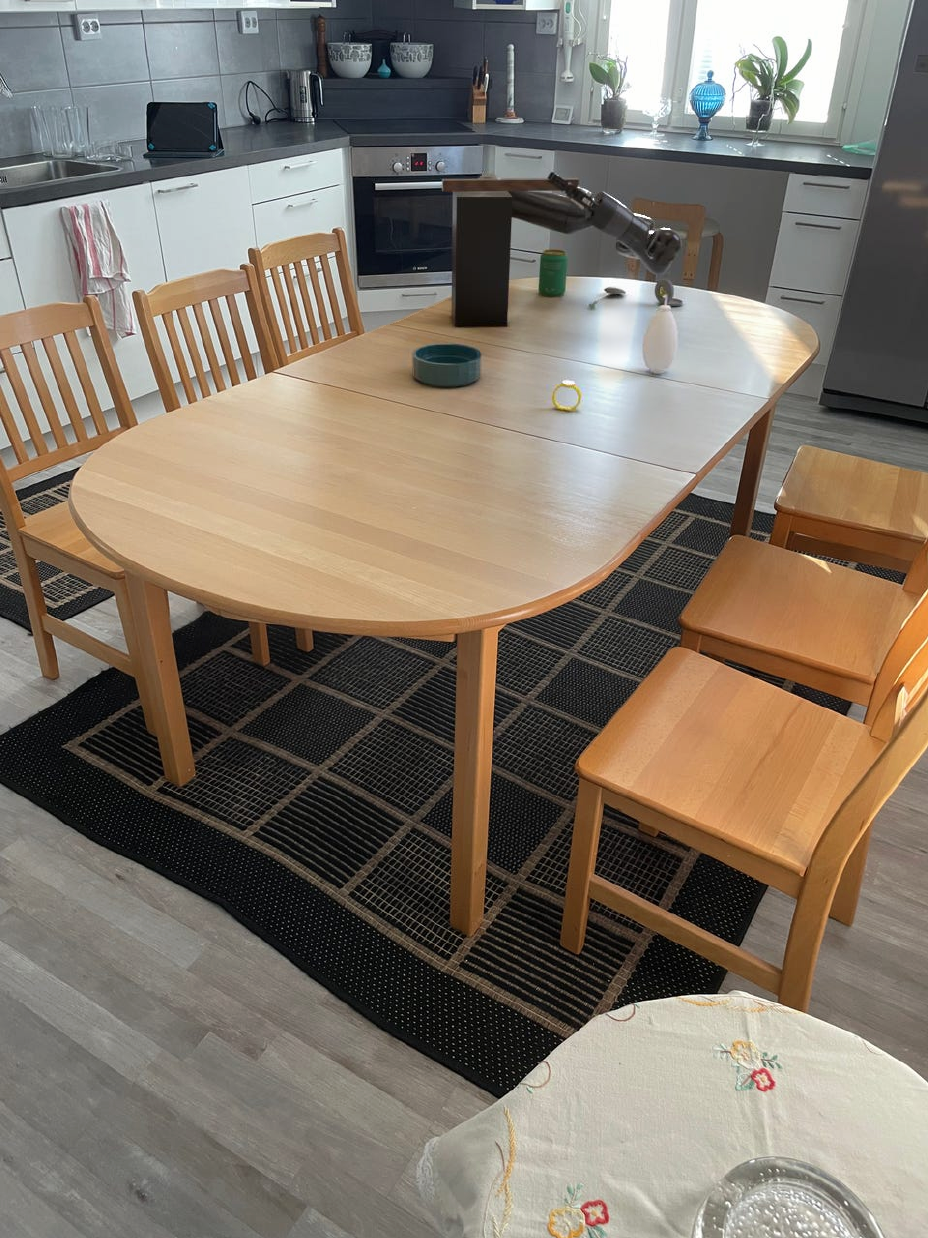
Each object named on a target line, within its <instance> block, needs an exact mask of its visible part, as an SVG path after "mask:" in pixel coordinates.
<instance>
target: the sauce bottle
mask: <svg viewBox="0 0 928 1238" xmlns="http://www.w3.org/2000/svg"><path fill="white" fill-rule="evenodd" d="M665 297H666V298H665ZM665 297H664V298H665V304H664V305H662V304H660V305H659V307H658V310H656V312H655V313H654V315H652V317H651V319H650V321H649V323H648V325H647V328H646V330H645V333H644V336H643V341H642V348H641V349H642V358H643V362H644V365H645V367H646V368H647V369H648V370H649V372H650V373H652V374H655V375H660V374H662V373H665V370H668V369H670V367H671V366H672V364H673V362H674V360H675V358H676V356H677V351H678V346H679V332H678V327H677V322H676V319H675V316H674V314H673V312H672V311H671V310H672V306H668V305H667V293H666V295H665Z"/></svg>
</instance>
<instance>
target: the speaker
mask: <svg viewBox="0 0 928 1238" xmlns="http://www.w3.org/2000/svg"><path fill="white" fill-rule="evenodd" d="M512 202H513V197H512V196H511V195H510V194H509V192H508V191H467V192H452V223H451V224H452V225H451V226H452V228H451V229H452V230H451V231H452V233H451V234H452V235H451V236H452V237H451V315H450V316H451V320H452V322H453V325H454V327H455V328H495V327H496V328H497V327H498V328H499V327H508V319H509V318H508V315H509V296H510V295H509V293H510V292H509V291H510V268H511V246H512V245H511V244H512V224H513V222H512V221H513V218H512Z"/></svg>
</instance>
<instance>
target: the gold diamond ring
mask: <svg viewBox="0 0 928 1238" xmlns="http://www.w3.org/2000/svg"><path fill="white" fill-rule="evenodd" d="M562 387H563V388H568V389H573V390H574V391H576V393H577V396H578V401H577V403H575V405H574V406H572V407H569V406H563V405H560V404H559V403H558V402H557V400H556V396H555V395H556V391H557V390H558V389H559V388H562ZM551 400H552V404H553V406H554V407H555V408H556V409H557V410H561V411H567V412H572V411H574V410H576V409H577V408H578V407H579V405H580V403H581V401H582V393H581V390H580V388H579V386H577V385H576V382H575V381H573V380H567V379H566V380H562V381H561V383H559V384H557V386H556V387H555V388H554V389H553V392H552V396H551Z"/></svg>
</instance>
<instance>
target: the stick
mask: <svg viewBox="0 0 928 1238" xmlns="http://www.w3.org/2000/svg"><path fill="white" fill-rule="evenodd" d="M561 178H562V179H564V180H565V181H567V183H568V182H570V183H571V184H572V185H575V186H579V187H580V179H579V178H578V177H561ZM550 179H551V178H548V177H525V178H524V177H523V178H521V177H517V178H514V177H513V178H512V177H511V178H508V177H507V178H506V177H505V178H500V179H478V178H441V191H442V192H443V193H444V192H445V193H450V192H451V193H453V192H467V191H533V192H553V191H554V192H558V191H559V192H562V191H563V190H560V189H559V188H557V187H556V186H554V185H553V184H551V183H550Z"/></svg>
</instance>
